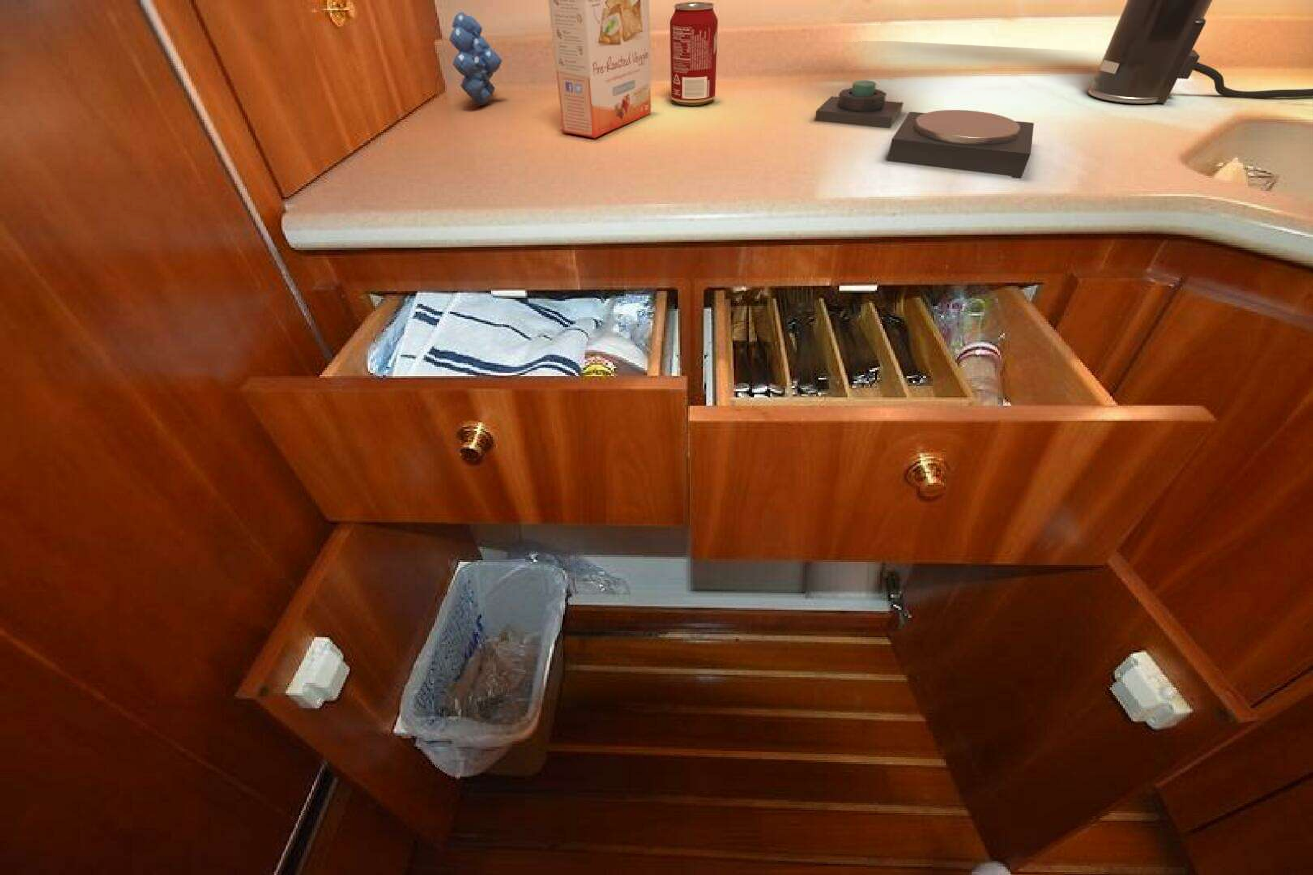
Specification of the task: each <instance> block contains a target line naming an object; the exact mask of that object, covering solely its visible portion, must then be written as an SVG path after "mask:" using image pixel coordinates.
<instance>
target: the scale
mask: <svg viewBox="0 0 1313 875" xmlns="http://www.w3.org/2000/svg"><path fill="white" fill-rule="evenodd" d="M1034 125H1035V122H1030V121H1029V122H1028V121H1019V120H1014V119H1012V118H1009V117H1006V116H1003V115H999V114H996V113H991V112H984V111H979V110H968V109H967V110H966V109H944V110H943V109H942V110H934V111H930V112H929V111H928V112H919V111H909V112H908V114H907V115H906V117H905V119H904V120H903V122H902V123H901V125H900V126H899V128H898V129H897V131H896V132H895V134H894V135H893V137H892V138H891V141H890V146H889V151H888V155H887V161H886V162H890V163H891V162H892V163H898V164H905V165H906V164H907V165H916V166H923V167H932V168H940V169H949V170H955V171H956V170H957V171H965V172H973V173H974V172H975V173H982V174H990V175H997V176H1006V177H1007V176H1008V177H1011V178H1016V179H1017V178H1018V179H1019V178H1020V179H1021V178H1022V177H1023V175H1024V172H1025V170H1026V167H1027V164H1028V163H1029V160H1030V156H1031V154H1032V144H1033V137H1034V136H1033V135H1034V127H1035V126H1034Z"/></svg>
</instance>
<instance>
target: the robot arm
mask: <svg viewBox="0 0 1313 875" xmlns="http://www.w3.org/2000/svg"><path fill="white" fill-rule="evenodd" d="M1212 2H1213V0H1126V2H1125V5H1124V7H1123V10H1122V11H1121V15H1120V17H1119V20H1118V22H1117V24H1116V26H1115V29H1114V31H1113V34H1112V36H1111V39H1110V40H1109V43H1108V45H1107V48H1106V51H1105V53H1104V55H1103V58H1102V60H1101V62H1100V65H1099V67H1098V70H1097V72H1096V74H1095V76H1094V78H1093V82H1092V84H1091V85H1090V87H1089V89H1088V91H1087V93H1088V94H1089V95H1090V96H1092V97H1094V98H1097V99H1100V100H1105V101H1109V102H1116V103H1124V104H1158V103H1159V104H1166V103H1167V101H1168V99H1169V96H1170V94H1172V93H1171V92H1172V91H1173V88H1174V87H1175V84H1176V83H1177V81H1178V80H1179V79H1181V80H1188V79H1189V78H1190V76H1191V75H1192V73H1193V71H1194V72H1197V73H1199V74H1202V75H1204V76H1207V77H1208V78H1210V79H1211V80H1213V82H1214V90H1215V91H1216V93H1217V94H1218V95H1220V96H1222V97H1226V98H1234V99H1235V98H1237V99H1258V100H1259V99H1271V98H1272V99H1273V98H1309V97H1313V88H1302V89H1301V88H1300V89H1299V88H1298V89H1297V88H1296V89H1293V88H1292V89H1269V90H1267V89H1266V90H1255V91H1254V90H1249V91H1247V90H1246V91H1245V90H1236V89H1232V88H1229V87H1227V86H1226V85H1225V81H1224V80H1225V79H1224V76H1223V75H1222V74H1221V72H1219V71H1218V70H1217V69H1215V68H1213V67H1211V66H1209V65H1206V64H1203V63H1202V62H1199V59H1200V55H1199V53H1198V52H1197V51H1196V50H1195V49H1194V47H1195V45H1196V44H1197V41H1198V39H1199V37H1200V35H1201V33H1202V31H1203V29H1204V27H1205V25H1206V23H1207V20H1206V18H1205V16H1206V14H1207V12H1208V11H1209V9H1210V6H1211V4H1212Z"/></svg>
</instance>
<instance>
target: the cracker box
mask: <svg viewBox="0 0 1313 875" xmlns="http://www.w3.org/2000/svg"><path fill="white" fill-rule="evenodd" d="M548 8H549V17H550V26H551V35H552V45H553V54H554V63H555V71H556V81H557V89H558V96H559V97H558V99H559V107H560V116H561V122H562V123H561V125H562V132H563V133H565V134H573V135H577V136H583V137H586V138H587V137H588V138H592V139H593V138H594V139H596V138H598V137H601V136H602V135H605V134H607V133H610V132H612V131H614V130H616V129H619V128H621V127H622V126H625V125H627V124H629V123H632V122H634V121H637V120H639V119H641V118H644V117H646V116H648V115H650V114H651V112H652V104H651V102H652V100H651V99H652V98H651V97H652V96H651V94H652V93H651V36H650V35H651V33H650V31H651V30H650V28H651V27H650V0H548Z"/></svg>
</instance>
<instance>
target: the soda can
mask: <svg viewBox="0 0 1313 875" xmlns="http://www.w3.org/2000/svg"><path fill="white" fill-rule="evenodd" d="M673 6H674V7H673V8H674V12H673V14H672V16H671V18H670V20H669V58H670V59H669V60H670V62H669V63H670V64H669V65H670V66H669V67H670V69H669V74H670V98H671V99H672V100H673V101H675V102H676V103H677V104H678V105H681V106H689V107H697V106H702V105H707V104H709V102H710V101H711V100H713V99H715V97H716V86H717V85H716V84H717V58H718V57H717V56H718V53H717V51H718V29H719V28H718V27H719V26H718V25H719V19H718V16H717V15H716V13H715V11H714V7H715V4H714V3H713V2H707V1H687V2H686V1H685V2H679V3H676V4H674V5H673Z"/></svg>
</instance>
